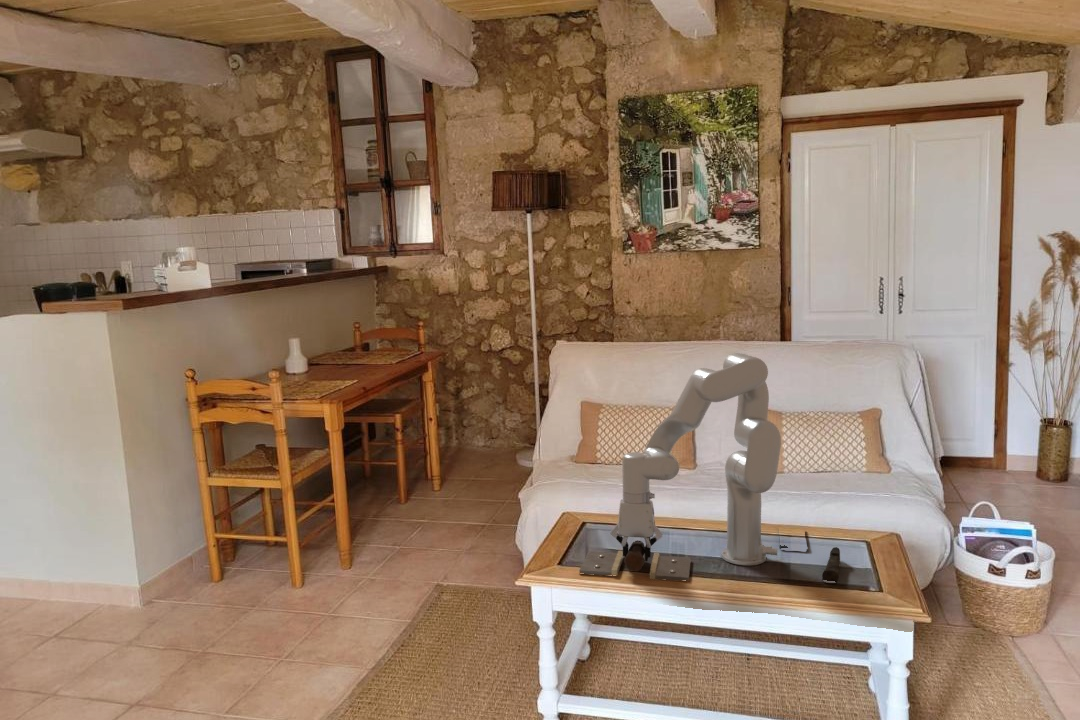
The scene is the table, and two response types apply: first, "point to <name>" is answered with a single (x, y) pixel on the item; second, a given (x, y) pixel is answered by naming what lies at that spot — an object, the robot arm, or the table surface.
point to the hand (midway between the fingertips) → (636, 558)
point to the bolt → (635, 556)
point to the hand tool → (832, 566)
